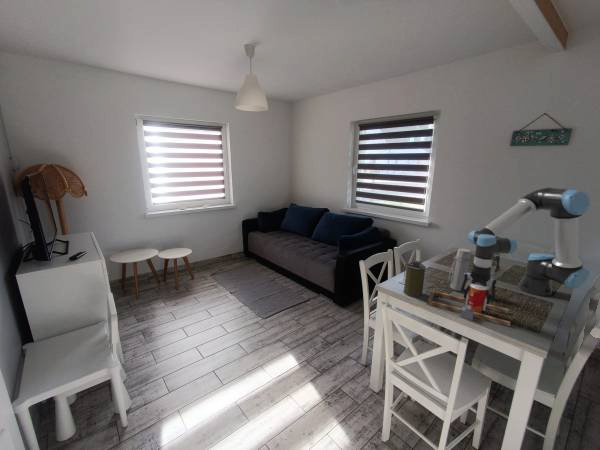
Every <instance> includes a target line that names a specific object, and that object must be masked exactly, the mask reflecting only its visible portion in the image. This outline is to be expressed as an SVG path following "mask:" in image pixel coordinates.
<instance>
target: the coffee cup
mask: <svg viewBox="0 0 600 450" xmlns="http://www.w3.org/2000/svg"><path fill="white" fill-rule="evenodd" d="M468 285H470V290H469V291H468V292H469V295H468V304H467V305H470V306H471V309H474V312H476V313H480V314H482V310H483V304H484V301H485V296H486V297H487V295H486V291H487V290H488V291H489V287H488V285H487V286H484V285H483V284H481V283H476V282H475V284H473V283H471V281H470V282H469V283H468Z"/></svg>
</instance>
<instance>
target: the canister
mask: <svg viewBox="0 0 600 450" xmlns="http://www.w3.org/2000/svg"><path fill="white" fill-rule="evenodd" d="M404 269H405V271H404V274H403V278H404V286H403V287H404V288H403V294H405V296H407V297H411V298H421V297H423V295H424V294H423V289H424V281H425V276H426V275H425V274H426V269H427V266H426V265H424V264H423V263H422V261H420V260H415V259H414V260H413V261H410V262H406V263H405V265H404Z"/></svg>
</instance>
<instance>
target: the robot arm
mask: <svg viewBox="0 0 600 450" xmlns="http://www.w3.org/2000/svg"><path fill="white" fill-rule="evenodd" d="M590 202H591V200H590V197H589V196H588V194H587V193H586V192H584V191H582V190H579V189H578V190H577V189H568V188H557V187H556V188H555V187H542V188H539V189H537V190H534V191H531V192H529V193H527V194H525V195H524V196H522V197H521V198H519V199H518V200H517V203H516V204H515V205H513V206H512V207H510V208H509V209H507V210H506V211H505V212H504V213H502V214H500V215H499V216H498V217H496V218H495V219H494V220H493V221H492V220H491V222H490V223H488V224H487V225H485V226H484V227H483V228H481V229H480V230H478V229H477V230H476V229H474V230H471V231H470V232H469V234H468V236H467V237H468V241H469V242H470V243H471V244H474V245H475V253H474V256H473V257H474V258H473V265H472V270H471V272H467V273H465V274H464V277H465V278H464V281H463V284H462V287H461V291H460V292H462V293H464V294H463V298H464V299H466V302H465V303H464V306H466V305H468V304H467V301H468V298H469V290H470V285H469V284H468V285H467V281H468V278H470V277H471V281H470V282H471V283H473V284H475V282H476V283H481V284H483V285H484V286H488V284H487V282H489V281H490V282H491V293H490V291H489V289H488V290H487V291H486V296H485V300H484V306H483V308H482V310H483V311H485V310H486V308H485V307H486V304H489V305H490V300H491V299H495V298H496V284H497V282H498V281H497V278H496V277H495V278H493V277H491V271H492V265H493V261H494V260H493V259H494V255H497V254H499V255H501V254H512V253H515V252H516V251H517V249H518V243H517V241H516V240H515V239H514V238H511V237H500V235H501V234H503V233H504V232H505V231H507V230H509V229H510V228H511V227H512V226H514V225H516V224H517V223H518V222H519V221H521V220H522V219H524V218H525V217H526V216H528V215H529V214H534V213H536V212H537V211H540V210H545V211H549V216H550V218H552V219H553V221H554V224H553V225H554V249H555V250H554V251H555V253H554V254H549V253H541V252H540V253H538V252H535V253H531V254H529V256H528V259H527V264H526V268H525V273H524V276H523V278H521V280H520V282H519V283H518V288H519V289H520V290H521V291H523V292H526V293H527V294H532V295H536V296H542V297H550V296H552V293H553V288H552V287H553V286H552V282H551V281H553V282H556V283H558V284H561V285H564V286H567V287H570V288H575V289H576V288H579V287H581V286H583V285H584V284H585V283H586V282H587V281H588V280H589V277H590V271H589V270H588V269H587V268H586V267H584V266H583V261H582V260H581V259H579V218H581V217H583V215H584V214H585V213H586V212H587V211H588V209H589V207H590ZM466 285H467V287H466ZM465 287H466V288H465Z"/></svg>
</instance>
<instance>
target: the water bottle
mask: <svg viewBox="0 0 600 450" xmlns="http://www.w3.org/2000/svg"><path fill="white" fill-rule="evenodd" d="M471 256H472V251H471V250H470V249H467V248H458V249H457V252H456V255H455V256H453V257H454V259H453V263H452V265H451V269H450V272H449V274H448V277H450V276H451V278H449V281H451V282H450V288H451V289H452V290H453V291H456V292H462V291H461V287H462V284H463V281H464V278H465V277H464V274H465V273H469V266H470V264H471V263H470V262H471V261H470V260H471Z"/></svg>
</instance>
